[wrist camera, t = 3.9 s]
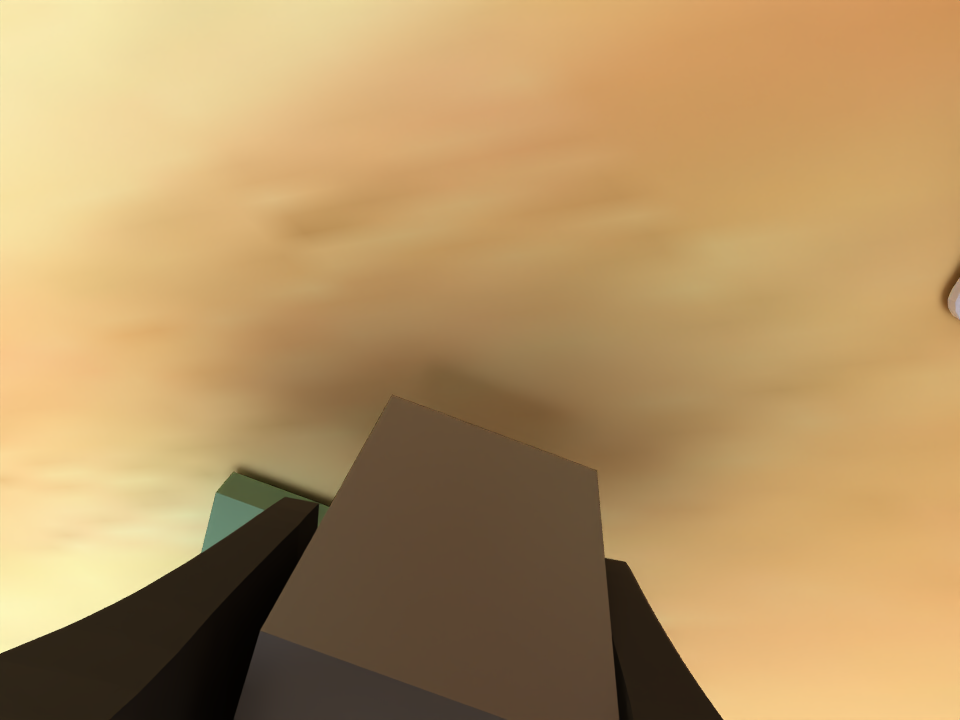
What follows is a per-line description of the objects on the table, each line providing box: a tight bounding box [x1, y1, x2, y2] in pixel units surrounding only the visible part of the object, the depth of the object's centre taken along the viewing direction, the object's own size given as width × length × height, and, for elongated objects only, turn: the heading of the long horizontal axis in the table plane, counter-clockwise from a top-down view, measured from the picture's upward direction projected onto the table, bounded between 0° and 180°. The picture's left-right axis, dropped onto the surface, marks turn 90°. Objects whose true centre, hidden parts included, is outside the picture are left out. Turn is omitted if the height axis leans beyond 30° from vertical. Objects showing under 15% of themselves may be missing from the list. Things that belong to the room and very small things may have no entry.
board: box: [201, 472, 329, 553], centre depth 19 cm, size 11×9×1 cm
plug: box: [234, 395, 619, 720], centre depth 11 cm, size 4×6×6 cm
